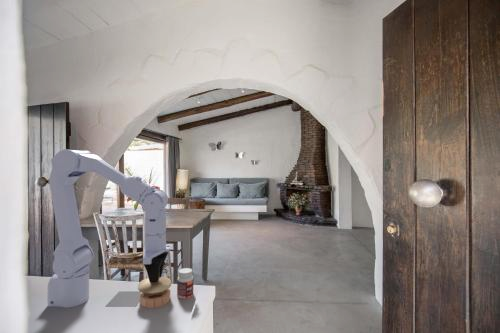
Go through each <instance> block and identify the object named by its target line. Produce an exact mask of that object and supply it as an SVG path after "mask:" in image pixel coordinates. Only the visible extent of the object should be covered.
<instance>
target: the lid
mask: <svg viewBox="0 0 500 333" xmlns="http://www.w3.org/2000/svg"><path fill="white" fill-rule="evenodd" d="M159 275H160V272H159ZM171 286H172V280H171V279H170V278H169V277H168V276H161V278H159V279H158V282H157V283H150V281H149V278H148V277H147V278H144V279H142V280H140V282H138V284H137V289H138V290H137V291H140V292H142V293H148V294H152V293H159V292H162V291H165V290H167V289H168V288H169V289H170V288H171Z"/></svg>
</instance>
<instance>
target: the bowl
mask: <svg viewBox="0 0 500 333" xmlns="http://www.w3.org/2000/svg"><path fill="white" fill-rule="evenodd" d="M152 296H153V297H152ZM154 296H157V297H154ZM170 300H171V289H170V287H169V288H168V289H167V290H165V291H162V292H159V293H152V294H148V293H142V292H141V293H140V301H139V304H140V306H141V307H143V308H145V309H154V308H155V309H157V308H159V307H164V306H165V305H166V304H168V303H169V302H170Z"/></svg>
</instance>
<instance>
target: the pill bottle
mask: <svg viewBox="0 0 500 333" xmlns="http://www.w3.org/2000/svg"><path fill="white" fill-rule="evenodd" d="M194 280H195V279H194V276H193V269H192V268H190V267H185V268H181V269H179V270H178V277H177V280H176V281H177V282H176V283H177V284H176V285H177V287H176V298H178V299H180V300H187V299H190V298H192V297H193V296H194Z"/></svg>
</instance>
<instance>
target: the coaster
mask: <svg viewBox="0 0 500 333" xmlns="http://www.w3.org/2000/svg"><path fill="white" fill-rule="evenodd" d="M140 293H141V292H140V291H139V290H137V291H118V292H117V293H116V295H114V296H113V297H112V299H110V301H108V303H106V305H105V307H137V305H138V304H140Z"/></svg>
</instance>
